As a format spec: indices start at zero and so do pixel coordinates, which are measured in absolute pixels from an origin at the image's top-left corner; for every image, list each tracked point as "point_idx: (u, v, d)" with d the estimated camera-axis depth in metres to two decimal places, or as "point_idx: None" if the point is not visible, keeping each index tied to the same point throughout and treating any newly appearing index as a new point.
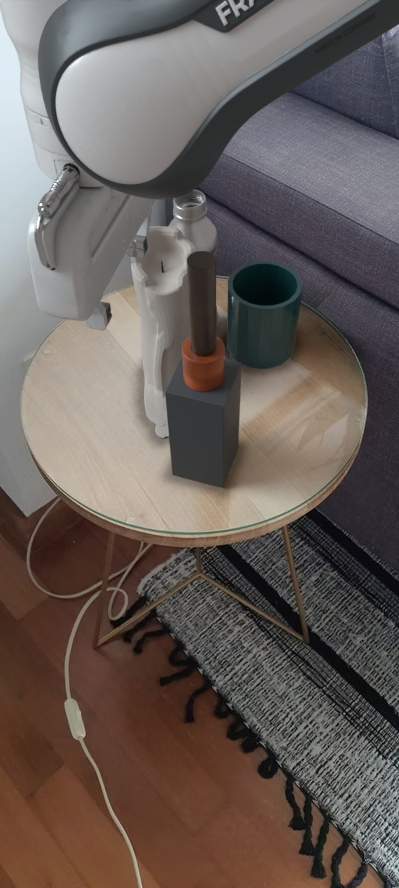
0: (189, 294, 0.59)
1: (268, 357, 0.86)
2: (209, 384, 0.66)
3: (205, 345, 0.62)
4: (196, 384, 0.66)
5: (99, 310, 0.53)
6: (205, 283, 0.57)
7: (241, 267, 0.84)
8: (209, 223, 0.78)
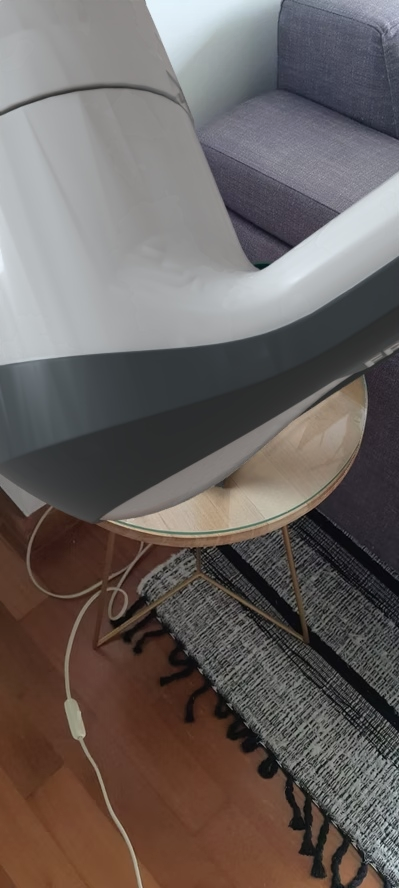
0: None
1: None
2: None
3: None
4: None
5: None
6: None
7: None
8: None
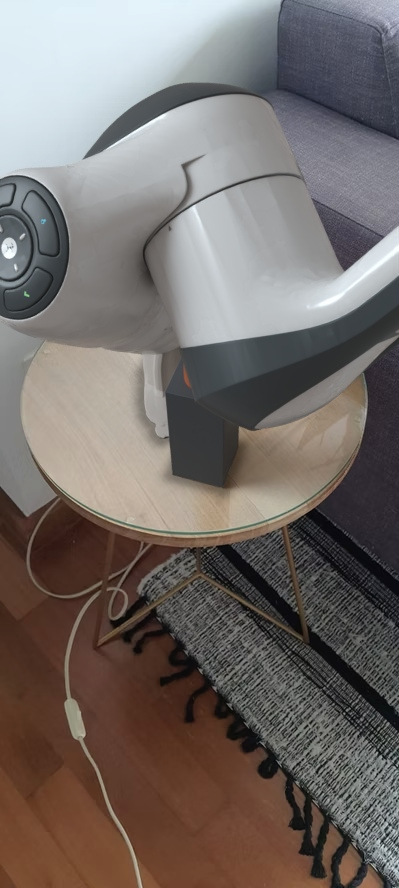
0: None
1: None
2: None
3: None
4: None
5: None
6: None
7: None
8: None
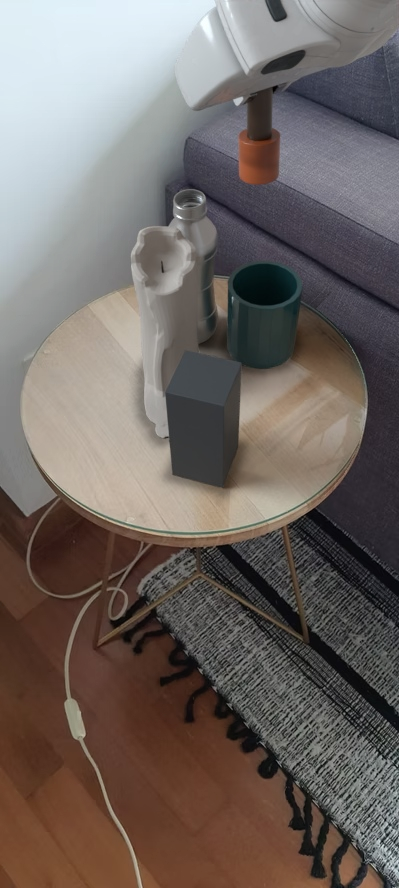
0: None
1: (268, 357, 0.86)
2: (278, 166, 0.68)
3: (271, 121, 0.65)
4: (272, 172, 0.67)
5: None
6: None
7: (241, 267, 0.84)
8: (209, 223, 0.78)
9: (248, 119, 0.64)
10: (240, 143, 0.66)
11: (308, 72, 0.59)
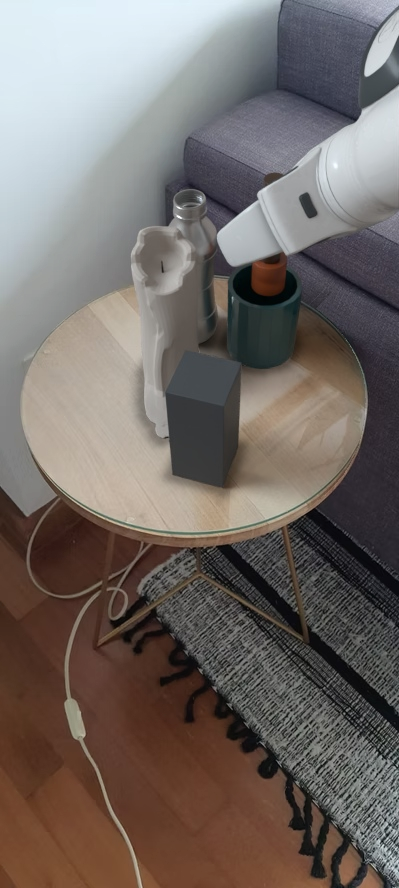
0: None
1: (268, 357, 0.86)
2: None
3: None
4: (281, 285, 0.81)
5: None
6: None
7: (241, 267, 0.84)
8: (209, 223, 0.78)
9: None
10: (255, 266, 0.79)
11: None
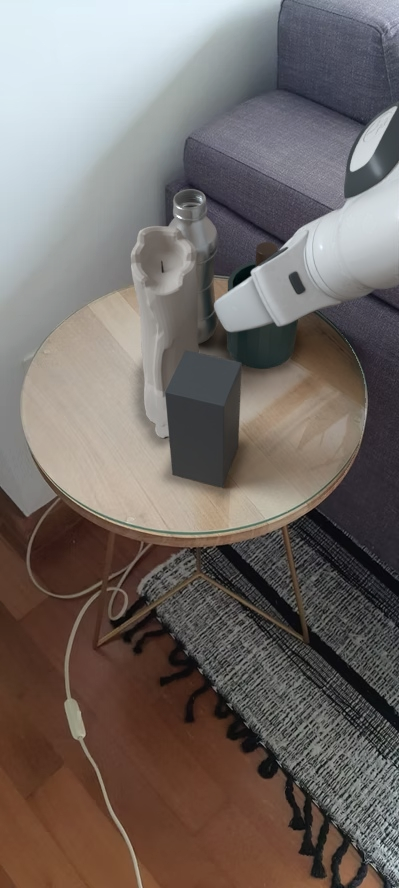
0: None
1: (268, 357, 0.86)
2: None
3: None
4: None
5: None
6: None
7: (241, 267, 0.84)
8: (209, 223, 0.78)
9: None
10: None
11: None
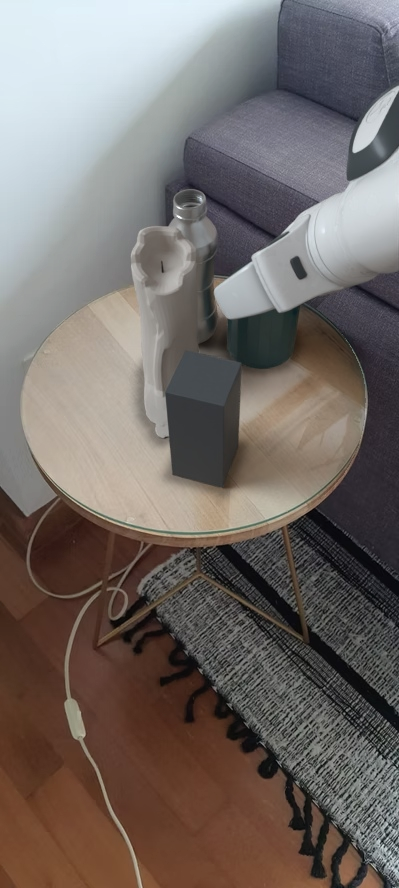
0: None
1: (268, 357, 0.86)
2: None
3: None
4: None
5: None
6: None
7: (241, 267, 0.84)
8: (209, 223, 0.78)
9: None
10: None
11: None
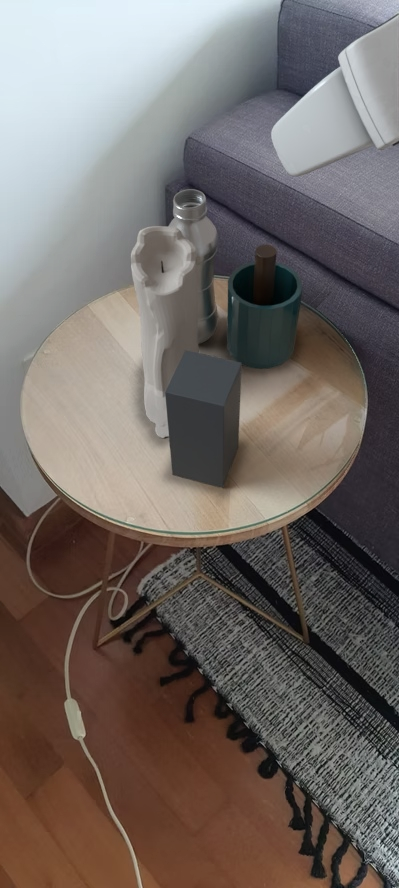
0: (265, 280, 0.80)
1: (268, 357, 0.86)
2: None
3: None
4: None
5: None
6: (275, 262, 0.79)
7: (241, 267, 0.84)
8: (209, 223, 0.78)
9: None
10: None
11: None
